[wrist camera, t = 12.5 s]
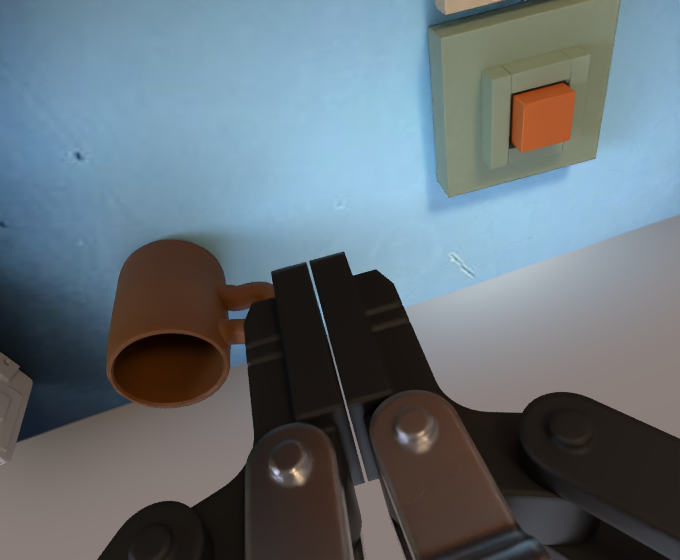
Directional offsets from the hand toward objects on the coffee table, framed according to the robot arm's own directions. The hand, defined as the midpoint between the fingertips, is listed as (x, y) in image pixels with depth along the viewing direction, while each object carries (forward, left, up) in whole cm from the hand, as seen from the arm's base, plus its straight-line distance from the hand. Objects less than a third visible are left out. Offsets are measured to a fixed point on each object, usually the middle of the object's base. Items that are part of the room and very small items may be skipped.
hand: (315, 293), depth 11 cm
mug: (+17, -8, -25) cm, 31 cm away
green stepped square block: (+10, +16, -25) cm, 31 cm away
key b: (+9, +16, -21) cm, 28 cm away
